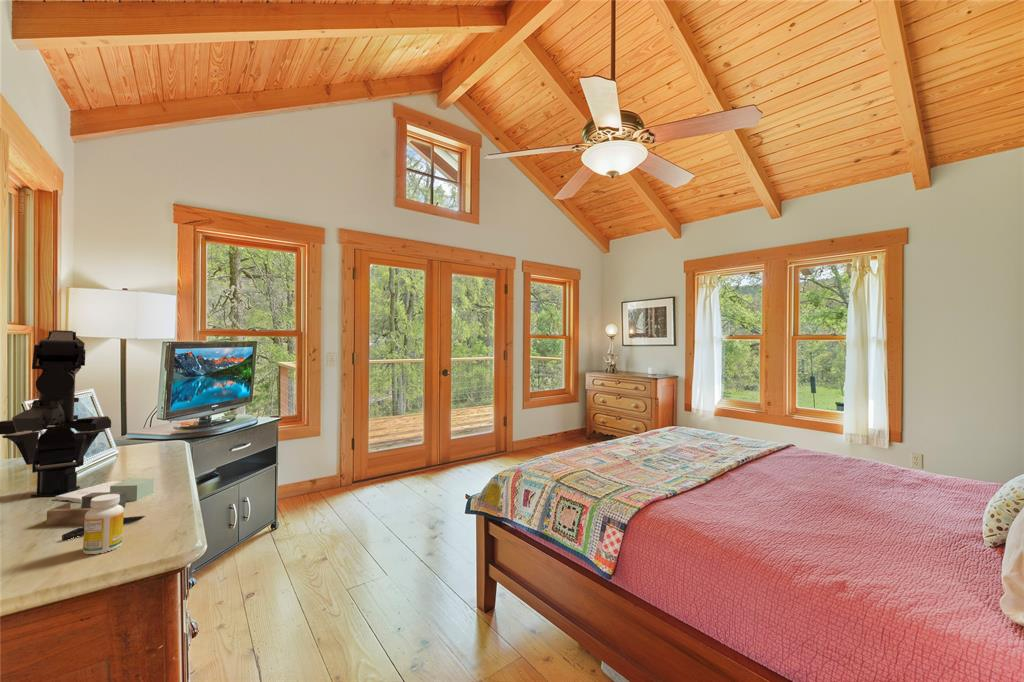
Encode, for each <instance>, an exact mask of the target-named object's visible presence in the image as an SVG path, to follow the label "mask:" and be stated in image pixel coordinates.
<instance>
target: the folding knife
mask: <svg viewBox="0 0 1024 682" xmlns="http://www.w3.org/2000/svg"><path fill="white" fill-rule="evenodd" d="M145 517H146V515H140V516H128V517H123V526H125V524H126V525H129V523H130V524H133V523H136V522H138V521H140V520H143V519H144V518H145ZM77 536H80V537H82V536H84V526H81V527H77V528H76V529H73V530H70V531H67V532H66V533H63V534H62V535H61V540H62V541H63V542H66V541H69V540H68V539H70V540H72V539H71V538H73V537H74V539H76V538H75V537H77ZM77 538H78V537H77ZM65 540H66V541H65Z"/></svg>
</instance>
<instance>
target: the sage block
mask: <svg viewBox="0 0 1024 682" xmlns="http://www.w3.org/2000/svg"><path fill="white" fill-rule="evenodd" d="M118 482H119V483H116V484H114V485H111V486H110V492H126V501H125V502H138V501H140V500H142V499H144V498H146V497H148V496H150V495H152V494H151V493H153V494H154V493H155V492H154V491H155V489H154V487H155V485H154V484H155V477H149V478H148V477H147V478H140V477H139V478H127V479H124V480H122V481H118ZM149 494H150V495H149ZM147 495H148V496H147ZM145 496H146V497H145ZM143 497H144V498H143ZM141 498H142V499H141ZM139 499H140V500H139ZM137 500H138V501H137Z"/></svg>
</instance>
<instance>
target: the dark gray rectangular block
mask: <svg viewBox="0 0 1024 682" xmlns="http://www.w3.org/2000/svg"><path fill="white" fill-rule="evenodd" d="M106 494H119V495H120V501H119V503H118V504H117V505H121V506H122V507H123V508H126V502H127V501H126V492H100V493H91V494H88V495H85V496H83V497H82V502H81V506H80V509H81V508H91V506H90V505H91V499H92V498H94V497H97V496H101V495H106Z"/></svg>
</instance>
